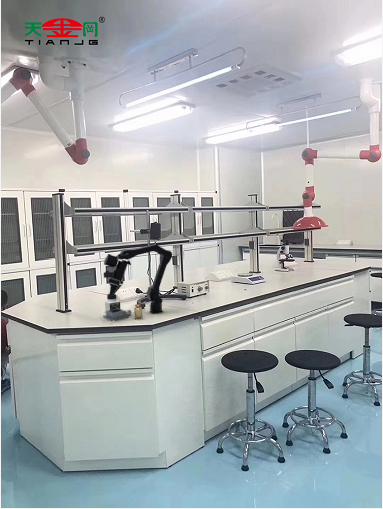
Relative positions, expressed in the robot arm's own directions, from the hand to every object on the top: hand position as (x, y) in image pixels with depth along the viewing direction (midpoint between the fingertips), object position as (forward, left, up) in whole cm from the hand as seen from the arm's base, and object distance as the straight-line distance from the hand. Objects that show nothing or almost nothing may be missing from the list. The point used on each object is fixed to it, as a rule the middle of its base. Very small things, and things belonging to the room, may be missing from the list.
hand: (111, 295), depth 238 cm
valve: (-10, +13, -14) cm, 21 cm away
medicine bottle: (-6, -12, -14) cm, 19 cm away
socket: (-3, +2, -13) cm, 14 cm away
